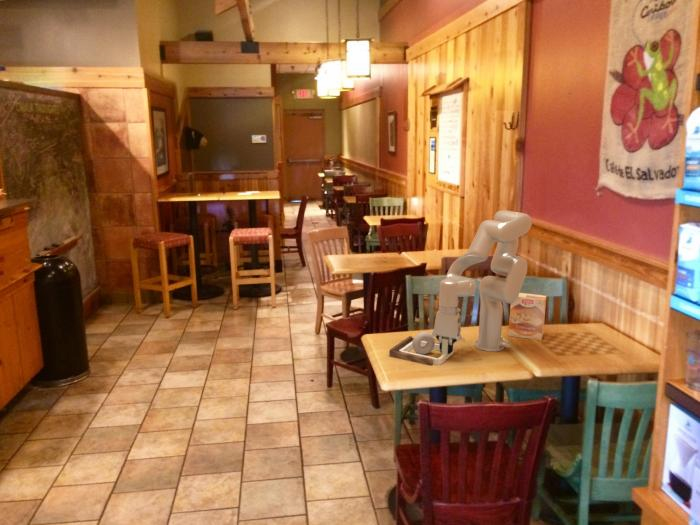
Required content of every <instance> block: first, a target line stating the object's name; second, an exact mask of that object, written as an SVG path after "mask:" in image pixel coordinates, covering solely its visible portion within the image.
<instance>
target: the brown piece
mask: <svg viewBox="0 0 700 525" xmlns="http://www.w3.org/2000/svg"><path fill="white" fill-rule="evenodd" d="M413 339H414V337H413V336H411V335H409V336H407V337H406V338H404V339H403V340H401V341H400V342H399V343H397V344H396V345H394V346H393V347H391V348H390V349H389V353H388V354H389V355H388V356H389V357H390V358H396V359H399V360H403V361H409V362H414V363H418V364H423V365H427V366H433V365H434V364H433V359H429V358H425V357H420V356H416V355H411V354H407V353H402V352H399V350H400V349H402V348H403V347H405V346H406V345H408V344H409V343H410V342H412V341H413ZM422 341H425V342H427V341H426V340H422ZM435 344H440V343H439V342H436V341H435Z"/></svg>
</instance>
